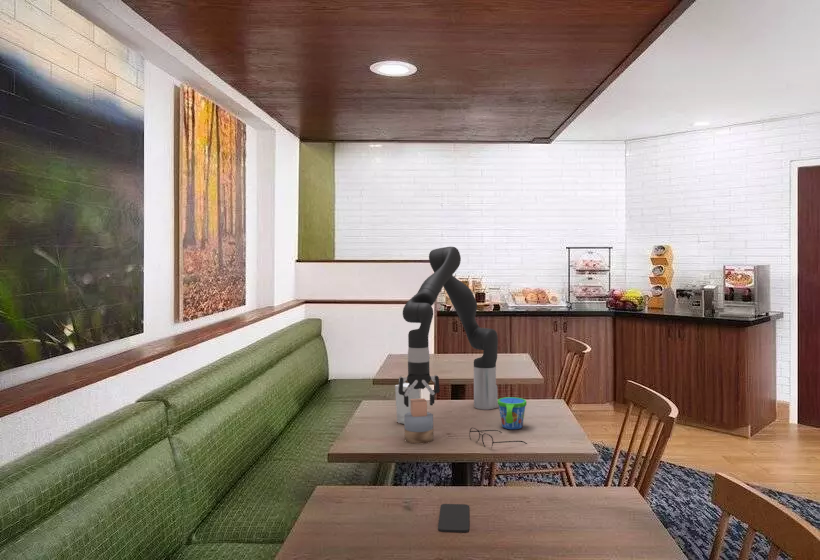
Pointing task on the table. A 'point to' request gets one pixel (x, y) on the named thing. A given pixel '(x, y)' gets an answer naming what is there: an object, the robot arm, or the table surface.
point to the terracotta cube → (418, 407)
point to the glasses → (490, 436)
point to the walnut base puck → (419, 436)
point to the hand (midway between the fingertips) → (419, 405)
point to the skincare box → (400, 405)
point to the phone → (454, 518)
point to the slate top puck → (418, 422)
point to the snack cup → (512, 412)
